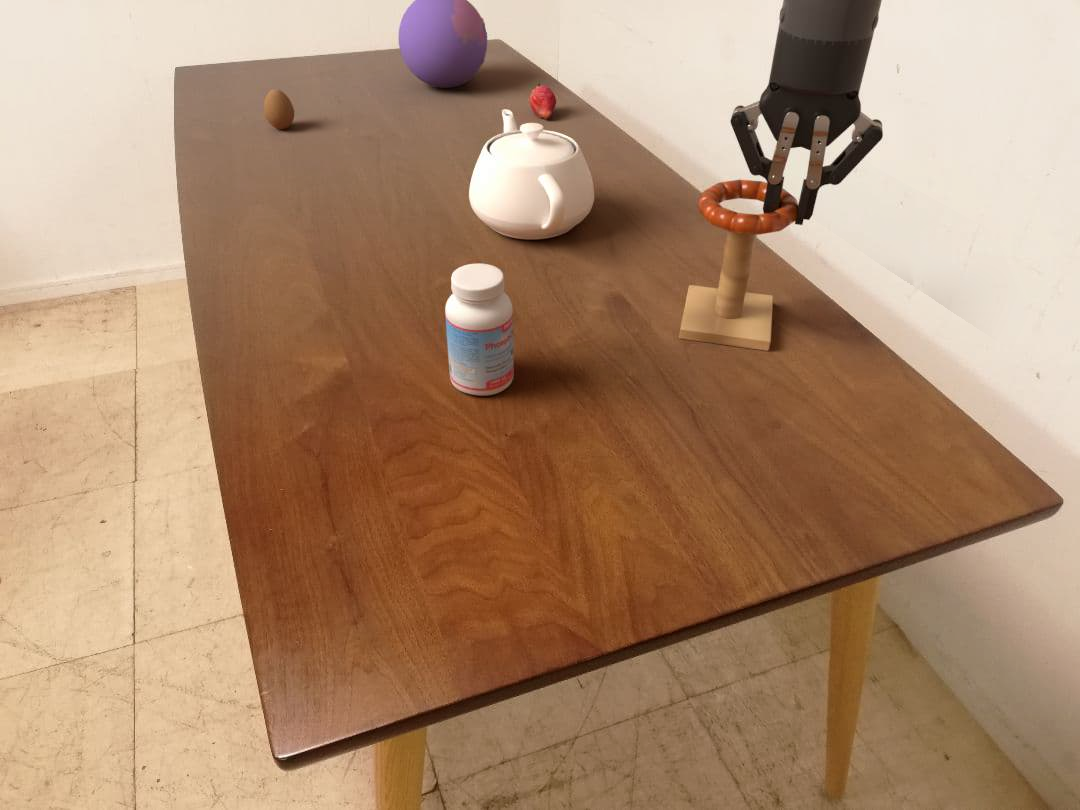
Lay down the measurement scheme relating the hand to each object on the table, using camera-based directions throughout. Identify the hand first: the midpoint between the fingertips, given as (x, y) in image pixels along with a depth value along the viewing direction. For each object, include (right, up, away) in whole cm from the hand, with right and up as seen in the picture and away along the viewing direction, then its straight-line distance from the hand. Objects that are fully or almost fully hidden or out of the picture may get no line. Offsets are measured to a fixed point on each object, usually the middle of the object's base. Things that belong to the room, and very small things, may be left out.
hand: (785, 218), depth 78 cm
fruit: (-23, +29, +55) cm, 67 cm away
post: (-4, -9, +9) cm, 13 cm away
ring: (-3, +1, 0) cm, 4 cm away
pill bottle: (-29, -15, +1) cm, 33 cm away
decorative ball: (-40, +38, +67) cm, 87 cm away
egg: (-63, +25, +50) cm, 85 cm away
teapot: (-25, +6, +27) cm, 37 cm away
